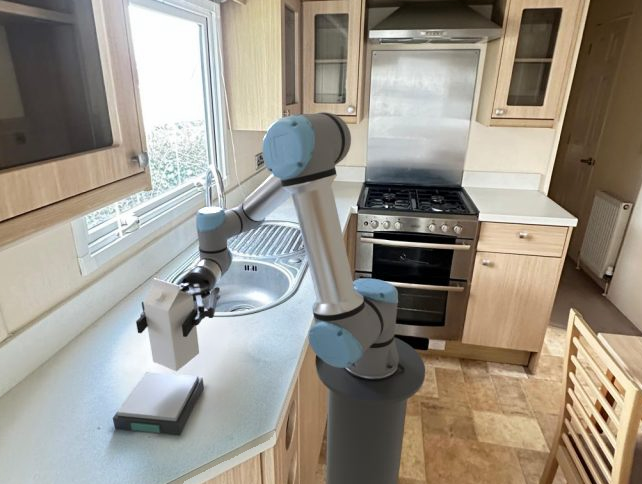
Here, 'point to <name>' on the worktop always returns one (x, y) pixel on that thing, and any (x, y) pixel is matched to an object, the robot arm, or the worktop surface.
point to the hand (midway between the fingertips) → (161, 329)
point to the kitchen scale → (159, 403)
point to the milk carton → (170, 325)
